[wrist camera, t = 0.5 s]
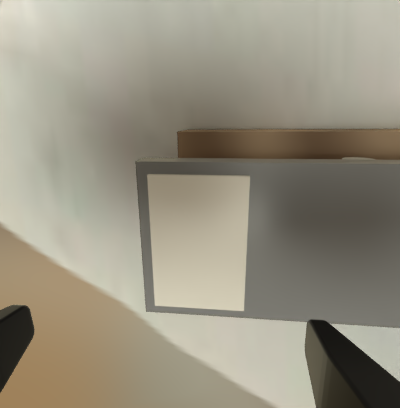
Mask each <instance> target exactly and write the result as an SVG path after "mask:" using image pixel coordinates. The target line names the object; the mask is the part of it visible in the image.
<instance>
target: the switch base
mask: <svg viewBox="0 0 400 408" xmlns="http://www.w3.org/2000/svg"><path fill="white" fill-rule="evenodd" d="M177 135H178V158H242V159H342V158H344V157H363V158H372V159H375V160H400V129H227V130H184V131H179V132H177Z"/></svg>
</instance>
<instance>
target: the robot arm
mask: <svg viewBox="0 0 400 408" xmlns="http://www.w3.org/2000/svg"><path fill="white" fill-rule="evenodd" d="M33 335H34V325H33V321H32V317H31V312H30V309H29V308H28V306H26V305H11V306H9V307H6V308H4V309H2V310H0V392H1V391H2V389H3V388H4V386H5V384H6V383H7V381H8V379H9V377H10V376H11V374H12V372H13V371H14V369H15V367H16V366H17V364H18V362H19V360H20V359H21V357H22V355H23V354H24V352H25V350H26V349H27V347H28V345H29V343H30V342H31V340H32V338H33ZM305 355H306V360H307V365H308V370H309V375H310V380H311V384H312V389H313V394H314V399H315V404H316V408H400V382H399V381H398V380H397V379H396V378H394V377H393V376H392V375H391V374H390V373H388V372H387V371H386V370H385V369H384V368H382V367H381V366H380V365H379V364H378V363H376V362H375V361H374V360H373V359H371V358H370V357H369V356H368V355H367V354H365V353H364V352H363V351H362V350H361V349H359V348H358V347H357V346H356V345H355V344H353V343H352V342H351V341H350V340H349V339H347V338H346V337H345V336H344V335H343V334H341V333H340V332H339V331H338V330H336V329H335V328H334V327H333V326H332V325H330V324H329V323H328V322H327V321H325V320H316V319H310V320H308V322H307V328H306V338H305Z"/></svg>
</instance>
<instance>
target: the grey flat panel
mask: <svg viewBox="0 0 400 408" xmlns="http://www.w3.org/2000/svg"><path fill="white" fill-rule="evenodd" d="M136 175H137V190H138V204H139V218H140V232H141V247H142V261H143V275H144V290H145V304H146V312H161V313H177V314H192V315H208V316H223V317H239V318H254V319H270V320H285V321H300V322H308V320H310V319H316V320H325V321H327V322H328V323H331V324H347V325H362V326H378V327H393V328H400V160H375V159H372V158H363V157H344V158H342V159H242V158H142V159H140V160H138V161H136Z"/></svg>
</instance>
